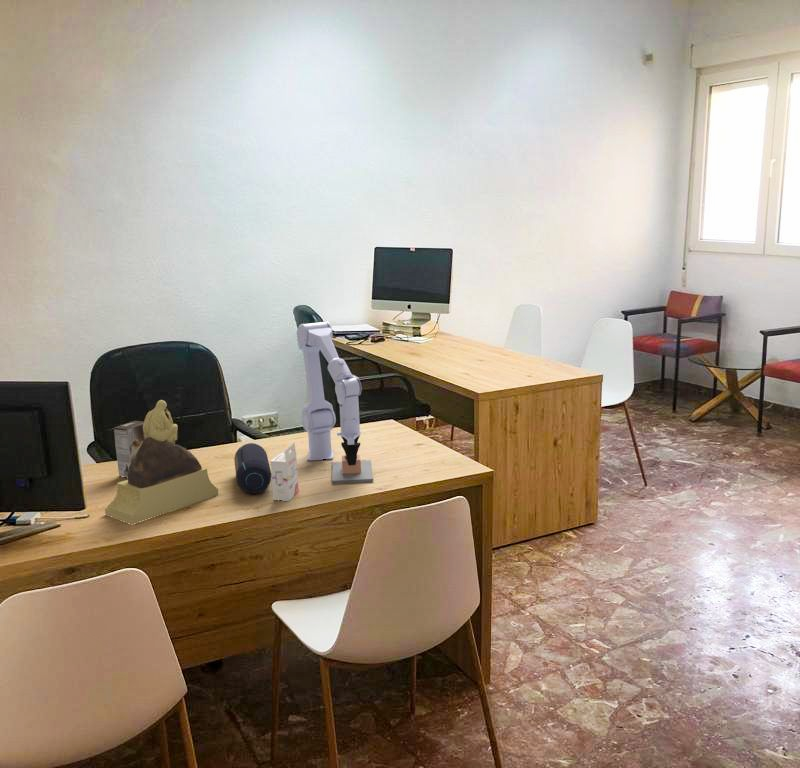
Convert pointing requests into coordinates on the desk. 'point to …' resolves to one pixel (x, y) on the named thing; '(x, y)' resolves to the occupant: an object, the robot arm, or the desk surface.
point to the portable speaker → (252, 468)
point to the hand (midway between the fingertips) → (351, 461)
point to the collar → (351, 468)
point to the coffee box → (127, 444)
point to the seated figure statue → (160, 474)
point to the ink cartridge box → (285, 475)
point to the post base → (352, 474)
